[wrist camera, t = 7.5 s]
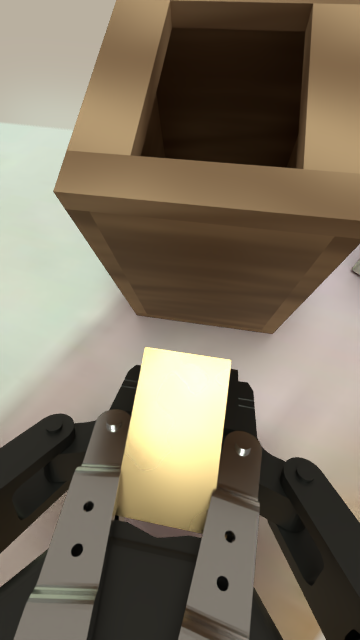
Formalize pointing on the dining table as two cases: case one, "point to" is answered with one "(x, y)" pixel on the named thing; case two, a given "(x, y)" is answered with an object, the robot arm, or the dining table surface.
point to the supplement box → (357, 267)
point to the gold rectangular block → (174, 439)
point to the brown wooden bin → (220, 156)
